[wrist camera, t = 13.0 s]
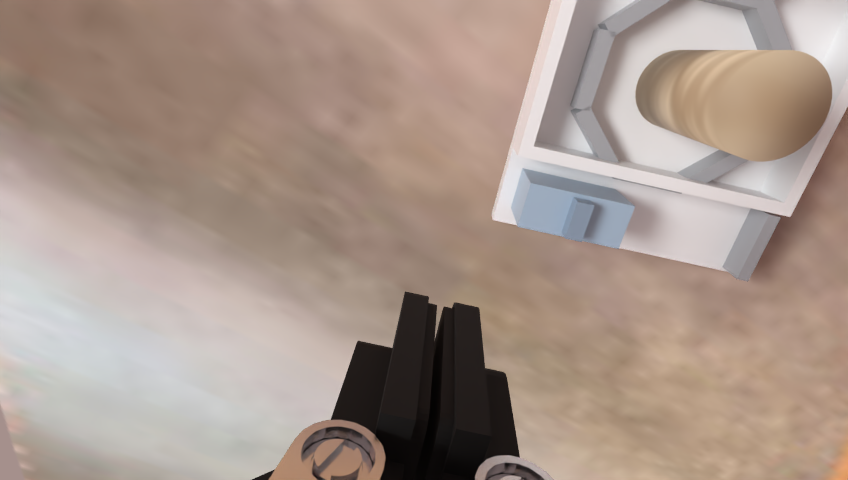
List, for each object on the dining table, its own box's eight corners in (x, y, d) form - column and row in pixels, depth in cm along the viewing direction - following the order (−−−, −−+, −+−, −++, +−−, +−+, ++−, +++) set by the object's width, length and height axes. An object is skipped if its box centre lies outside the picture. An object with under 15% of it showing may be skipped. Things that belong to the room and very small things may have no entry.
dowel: (651, 42, 23) (745, 38, 16) (725, 59, 23) (853, 63, 16) (624, 118, 24) (699, 149, 17) (694, 134, 25) (799, 171, 17)
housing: (634, -299, 20) (664, -356, 17) (956, -219, 20) (1038, -261, 17) (491, 214, 28) (495, 232, 25) (722, 265, 28) (752, 289, 25)
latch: (522, 168, 26) (533, 187, 22) (615, 189, 26) (641, 211, 22) (511, 207, 26) (519, 232, 23) (601, 227, 27) (623, 255, 23)
